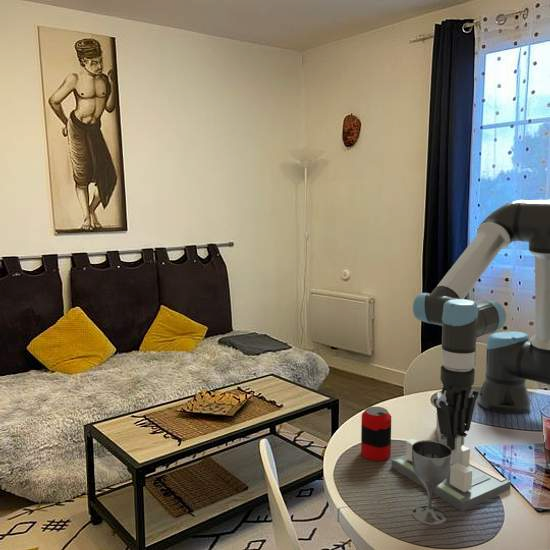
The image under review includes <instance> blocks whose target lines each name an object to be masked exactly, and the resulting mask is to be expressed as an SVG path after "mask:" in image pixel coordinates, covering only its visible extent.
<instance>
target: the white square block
mask: <svg viewBox="0 0 550 550" xmlns="http://www.w3.org/2000/svg"><path fill="white" fill-rule="evenodd" d="M470 457H471V448H470V447H467V446H466V445H465V444H464V445H462V447H461V461H460V464H461V465H463V466H465V467H469V462H470V459H471V458H470ZM451 463H452V464H455V463H453V462H451Z"/></svg>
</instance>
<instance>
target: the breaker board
mask: <svg viewBox="0 0 550 550" xmlns="http://www.w3.org/2000/svg"><path fill="white" fill-rule="evenodd" d="M451 465H453V464H452V463H451ZM451 465H450V466H451ZM391 468H392V469H394V470H395V471H397V472H399V473H400V474H402V475H404V476H405V477H406V478H408V479H410V480H412V481H413V482H415V483H416V484H417V485H419V486H420V487H422V488H424V489H426V487H425V485H424V484H423V483H422V482H421V481H420V479H419V478H418V477H417V476H416V474H415V472H414V468H413V462H412V461H410V460H408V459H407V458H406V454H403V455H401V456H398V457H395V458H392V459H391ZM467 468H469V469H471V470H472V488H471V490H468V491H466V492H463V491H461V490H459V489H457V488H456V487H454V486H452V485H451V484H450V470H449V473H448V475H447V478H446V479H445V480H444V481H443V482H442V483H440V484H439V485H438V486H437V487H436V488H435V489H434V492H433V495H435V496H437V497H439V498H440V499H441V500H443V501H445V502H447V503H448V504H449V505H451V506H453V508H456V509H458V510H460V511H461V512H463V511H466V510H467V509H468V510H469V509H470V508H473V507H475V506H476V505H478V504H481V503H483V502H486V501H488V500H490V499H493V498H494V497H496V496H499V495H501V494H503V493H506V492H508V491H510V490H511V480H509V479H508V478H505V477H503V476H501V475H499V474H497V473H496V472H493V471H491V470H490V469H488V468H486V467H484V466H482V465H480V464H478V463H476V462H474V461H472V459H471V460H470V462H469V467H467Z"/></svg>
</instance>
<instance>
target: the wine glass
mask: <svg viewBox="0 0 550 550" xmlns="http://www.w3.org/2000/svg"><path fill="white" fill-rule="evenodd" d="M417 441H418V442H416V443H414V444H413V446H412V462H413V468H414V472H415V474H416V476H417V477H418V478H419V479H420V481H421V482H422V483H423V484H424V485H425V487H426V488H425V489H426V493H427V504H420V505H417V506H415V507H413V509H412V512H411V513H412V517H413V518H414V519H415V520H416V521H418V522H420V523H422V524H426V525H431V526H436V525H442V524H443V523H445V522H446V521H447V519H448V517H447V516H448V515H447V514H446V512H445V511H444V510H443V509H442V508H440V507H438V506H436V505H433V504H432V503H433V495H434V493H433V492H434V489H435V488H436V487H437V486H438V485H439V484H440V483H442V482H443V481H444V480H445V479H446V478H447V475H448V473H449V470H450V465H451V453H452V452H451V449H450V447H449V446H447V444H444V443H441V442H439V440H438V441H436V440H432V439H431V440H429V439H425V440H424V439H423V440H417Z"/></svg>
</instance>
